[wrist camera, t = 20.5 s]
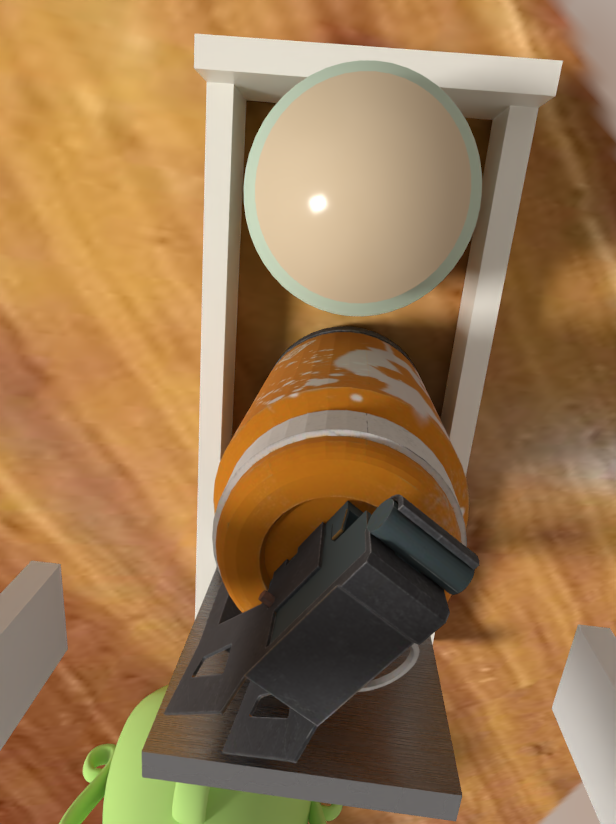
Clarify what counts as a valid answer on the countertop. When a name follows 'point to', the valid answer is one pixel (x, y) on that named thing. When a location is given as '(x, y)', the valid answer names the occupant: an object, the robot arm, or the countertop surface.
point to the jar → (362, 188)
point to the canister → (328, 539)
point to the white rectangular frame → (224, 163)
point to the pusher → (321, 742)
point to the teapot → (173, 789)
